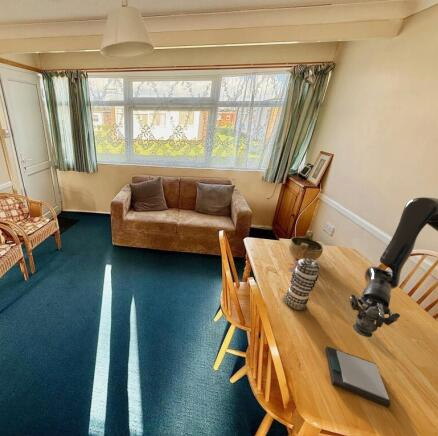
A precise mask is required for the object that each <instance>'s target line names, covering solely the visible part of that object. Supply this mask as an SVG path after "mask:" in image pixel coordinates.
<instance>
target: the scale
mask: <svg viewBox="0 0 438 436" xmlns="http://www.w3.org/2000/svg"><path fill="white" fill-rule="evenodd" d="M324 350H325V356H326V360H327V361H326V362H327V366H328V371H329V377H330V382H331V383H330V384H331V385H332V386H334V387H336V388H337V389H341V390H343V391H346V392H348V393H351V394H353V395H356V396H357V397H361V398H363V399H365V400H367V401H370V402H372V403H374V404H376V405H379V406H382V407H385V408H387V409H388V408H390V406H391V405H392V403H391V401H390V400H391V399H390V398H389V395H388V392H387V390H386V387H385V384H384V382H383V379H382V376H381V374H380V371H379V369H378V368H379V367H378V366H377V363H376V362H373V361H370V360H368V359H365V358H361V357H359V356H356V355H353V354H351V353H348V352H345V351H342V350H339V349H337V348H333V347H331V346H326V347H325V349H324Z"/></svg>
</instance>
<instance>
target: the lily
mask: <svg viewBox="0 0 438 436" xmlns="http://www.w3.org/2000/svg"><path fill="white" fill-rule="evenodd" d="M293 263H294V266H291V267H289V268H288V269H287V270H288V271H289V272H291V273H293V272H294V270H295V269H296V267H297V266H298V260H297V259H293Z"/></svg>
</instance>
